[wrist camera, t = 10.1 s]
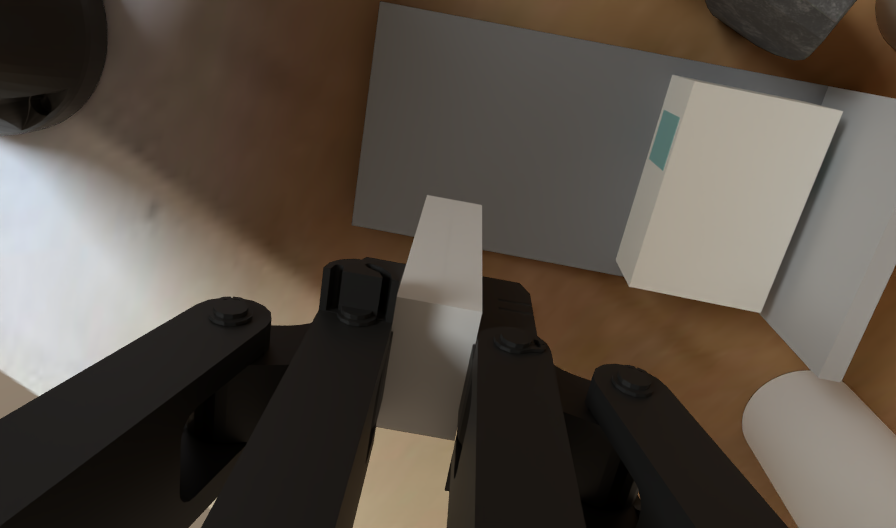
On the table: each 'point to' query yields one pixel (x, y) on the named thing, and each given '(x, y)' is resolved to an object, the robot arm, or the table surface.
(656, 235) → the carton
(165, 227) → the table surface
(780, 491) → the cup
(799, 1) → the hammer
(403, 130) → the grey base with uprights
